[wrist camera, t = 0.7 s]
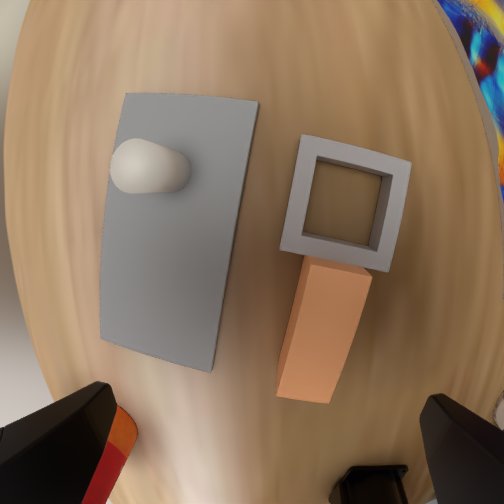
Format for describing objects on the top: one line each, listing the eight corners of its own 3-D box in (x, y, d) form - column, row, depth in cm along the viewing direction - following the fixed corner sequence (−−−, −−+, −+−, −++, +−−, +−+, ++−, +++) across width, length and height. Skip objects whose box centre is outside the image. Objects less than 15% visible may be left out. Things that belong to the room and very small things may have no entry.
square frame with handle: (343, 371, 20) (353, 406, 16) (255, 356, 20) (248, 390, 16) (399, 165, 17) (426, 159, 13) (300, 140, 17) (303, 125, 13)
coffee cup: (89, 437, 25) (20, 527, 10) (67, 378, 23) (-30, 470, 8) (157, 458, 24) (100, 572, 9) (141, 398, 22) (51, 530, 8)
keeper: (259, 104, 17) (248, 70, 12) (212, 368, 21) (191, 417, 15) (130, 95, 18) (84, 71, 12) (104, 335, 21) (64, 369, 16)
